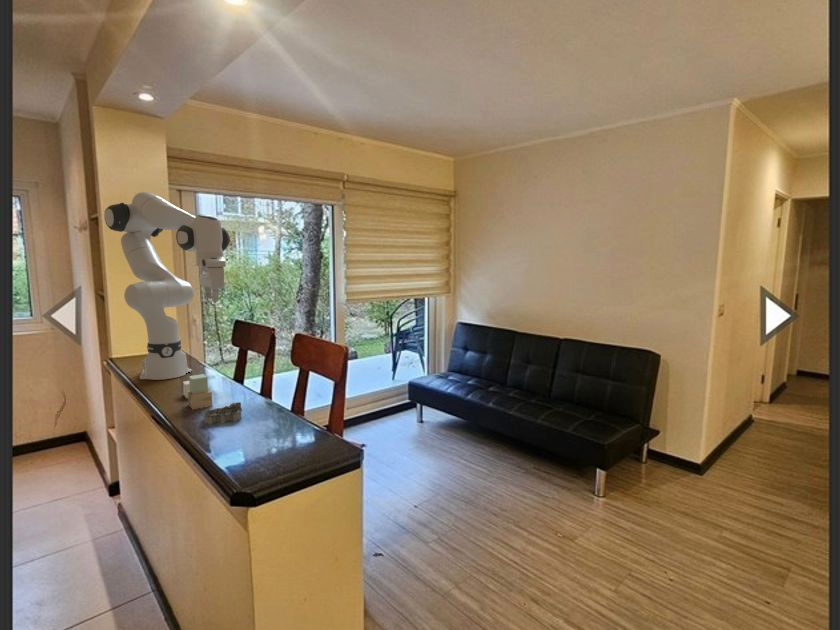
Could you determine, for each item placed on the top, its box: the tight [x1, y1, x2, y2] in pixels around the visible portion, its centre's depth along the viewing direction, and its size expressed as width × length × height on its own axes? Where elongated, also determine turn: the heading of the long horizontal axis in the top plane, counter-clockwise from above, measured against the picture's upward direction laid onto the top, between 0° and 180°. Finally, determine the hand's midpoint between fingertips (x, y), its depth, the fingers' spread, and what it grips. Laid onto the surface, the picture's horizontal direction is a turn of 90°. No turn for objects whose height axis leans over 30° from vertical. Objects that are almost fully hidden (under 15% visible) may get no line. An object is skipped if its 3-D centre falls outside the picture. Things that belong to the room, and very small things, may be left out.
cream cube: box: [182, 380, 190, 399], centre depth 158 cm, size 4×4×5 cm
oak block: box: [187, 388, 213, 411], centre depth 148 cm, size 6×6×5 cm
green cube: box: [188, 373, 209, 394], centre depth 147 cm, size 4×4×5 cm
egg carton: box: [203, 401, 243, 425], centre depth 136 cm, size 11×8×4 cm
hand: (212, 299), depth 161 cm, fingers open, 8 cm apart
